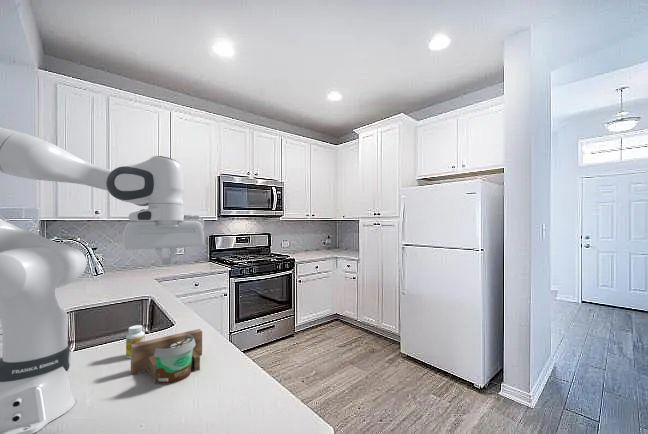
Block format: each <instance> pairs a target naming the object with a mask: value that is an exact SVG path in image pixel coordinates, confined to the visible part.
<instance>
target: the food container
mask: <svg viewBox="0 0 648 434" xmlns="http://www.w3.org/2000/svg"><path fill="white" fill-rule="evenodd" d="M195 345H196V344H195V340H194V338H193V336H192V335H189V334H188V337H187V338H185V339H183V340H181V341H177V342H174V343H172V344H170V345H169V346H167V347H165V348H163V349H157V348H156V351H155V353H154V357H156V361H157V372H158V383H157V384H158V385H169V384H170V385H171V384H176V383H179V382H181V381H184V380H186V379H187V378H188V377H190V375H191V373H192V372H191V371H192V368H191V364H192V353H193V348H194V347H195Z"/></svg>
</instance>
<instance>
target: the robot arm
mask: <svg viewBox="0 0 648 434" xmlns="http://www.w3.org/2000/svg"><path fill="white" fill-rule="evenodd" d="M0 173H1V174H6V175H9V176H14V177H17V178H22V179H28V180H34V181H45V182H57V183H67V184H78V185H83V186H87V187H88V186H89V187H92V188H96V189H99V190H102V191H108V192H109V194H110V195H111V196H112V197H113V198H115V199H116V200H119V201H122V202H126V203H130V204H133V205H136V206H140V207H147V208H145V209H140V210H138V211H135V212H134V211H133V212H130V213H129V214H128V220H129V222H127V224H126V225H125V226H124V230H123V235H122V240H121V241H122V247H123V249H125V250H147V249H148V250H151V249H153V250H154V252H155V254H156V256H157V258H158V259H159V262H158V263H159V265H160V266H163V265H172V264H173V258H174V257H175V255H176V254H177V251H178V248H190V247H191V248H192V247H193V248H195V247H202V246H203V245H204V244H205V233H204V228H205V220H204V218H203V217H201V216H200V215H186V214H184V213H185V203H184V200H183V194H184V191H185V175H184V169H183V166H182V164H181V163H180V162H179V161H177V160H175V159H173V158H171V157H167V156H164V155H163V156H162V155H153V156H151V157H150V158H148V159H147V160H145V161H142V162H139V163H135V164H131V165H126V166H123V165H122V166H119V167H117V168H114V169H109V168H106V167H104V166H100V165H96V164H94V163H90V162H89V161H86V160H84V159H82V158H80V157H78V156H76V155H74V154H72V153H71V152H69V151H67V150H65V149H64V148H61V147H59V146H58V145H56V144H54V143H52V142H50V141H47V140H45V139H42V138H41V137H37V136H34V135H32V134H29V133H25V132H22V131H19V130H18V131H17V130H14V129H10V128H5V127H0ZM163 249H169V252H170V253H169V255H168V257H163V255H162V254H161V253H163ZM87 262H88V261H87V257H86V256H85V254H84V253H83V252H82V251H81V250H80V249H78V248H76V247H72V246H69V245H66V244H62V243H60V242H57V241H55V240H52V239H50V238H48V237H45V236H42V235H39V234H37V233H35V232H32V231H29V230H26V229H23V228H20V227H19V226H16V225H14V224H12V223H9V222H8V221H6V220H3V219H2V218H0V324H1V332H2V333H1V335H2V337H1V338H2V339H1V340H2V348H1V349H2V353H1V354H2V357H1V356H0V434H35V433H37V432H39V431H41V429H43V428H44V427H45V426H47V424H48V423H51V422H52V421H54V420H56V419H58V418H59V417H61V416H62V415H64V414H65V413H67V412H68V411H69V410H70V409H71V408H72V407H74V405H75V403H76V398H75V395H74V393H73V389H72V386H71V385H72V384H71V380H70V373H69V369H70V366H71V356H72V355H71V354H72V353H71V346H70V344H69V342H68V341H69V315H68V313H67V311H65V310H64V309H62V308H61V307H60V305H59V303H58V300H57V297H56V291H55V290H56V289H57V288H63V287H64V286H65V287H66V286H68V285H69V284H71V283H73V282H74V281H77V279H78V278H80V277H81V276H82V275H83V274H84V273H85V271H86V268H87V264H88V263H87Z"/></svg>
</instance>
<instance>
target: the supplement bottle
mask: <svg viewBox="0 0 648 434" xmlns="http://www.w3.org/2000/svg"><path fill="white" fill-rule="evenodd" d="M143 330H144V329H143V325H141V324H136V325H132V326H129V327H128V334H127V335H126V337H125V340H126V341H125V355H126V358H127V359H130V360H131V344H135V343H140V342H144V341H146V333H145V332H144V331H143Z"/></svg>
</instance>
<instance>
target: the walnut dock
mask: <svg viewBox="0 0 648 434" xmlns="http://www.w3.org/2000/svg"><path fill="white" fill-rule="evenodd" d="M188 334H189V335H192V336H193V338H194V340H195V344H196V345H195V347H194V348H193V353H192V364H191V370H193V371H194V372H197V371H200V369H201V356H202V355H203V331H202V330H201V329H200V328H198V329H193V330H189V331H185V332H180V333H175V334H170V335H167V336H162V337H158V338H153V339H150V340H149V339H148V340H145V341H144V342H140V343H135V344H131V359H130V373H131V375H132V376H133V375H137V374H141V373H143V372H145V373H146V372H148V374H149V376H150V377H151V378H152V381H153V382H154V384H158V372H157V361H156V357H154V353H155V351H156V348H157V349H163V348H165V347H167V346H169V345H170V344H172V343H174V342H177V341H181V340H183V339H185V338H187V337H188Z"/></svg>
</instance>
